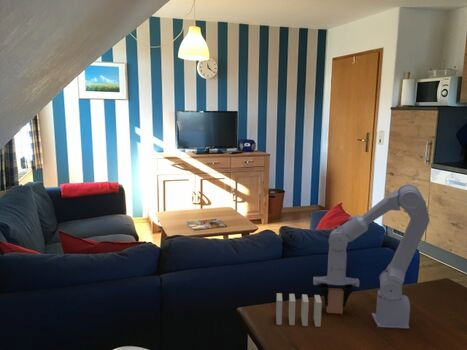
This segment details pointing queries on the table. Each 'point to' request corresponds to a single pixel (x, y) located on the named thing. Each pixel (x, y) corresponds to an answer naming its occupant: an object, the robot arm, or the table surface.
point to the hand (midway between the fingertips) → (334, 305)
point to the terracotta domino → (335, 300)
